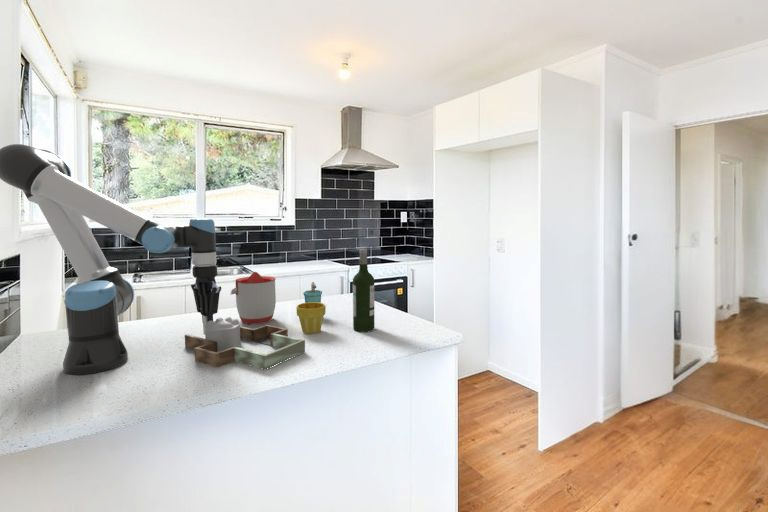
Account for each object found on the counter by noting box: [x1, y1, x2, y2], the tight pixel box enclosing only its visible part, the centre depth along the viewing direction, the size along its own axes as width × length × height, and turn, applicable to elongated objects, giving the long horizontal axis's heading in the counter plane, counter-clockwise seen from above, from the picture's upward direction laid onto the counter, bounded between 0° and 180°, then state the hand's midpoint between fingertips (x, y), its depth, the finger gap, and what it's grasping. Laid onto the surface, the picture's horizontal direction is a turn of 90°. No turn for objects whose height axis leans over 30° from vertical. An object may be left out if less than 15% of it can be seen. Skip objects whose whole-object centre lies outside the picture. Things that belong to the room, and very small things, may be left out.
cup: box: [303, 281, 323, 303], centre depth 165 cm, size 14×8×15 cm, turn 18°
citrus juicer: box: [230, 271, 277, 325], centre depth 160 cm, size 16×17×20 cm
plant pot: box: [296, 302, 327, 335], centre depth 146 cm, size 10×10×10 cm
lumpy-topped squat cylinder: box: [204, 316, 242, 352], centre depth 132 cm, size 10×13×9 cm
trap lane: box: [184, 324, 306, 370], centre depth 127 cm, size 37×28×4 cm
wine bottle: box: [352, 248, 375, 333], centre depth 148 cm, size 8×8×30 cm
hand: (208, 333), depth 136 cm, fingers closed
